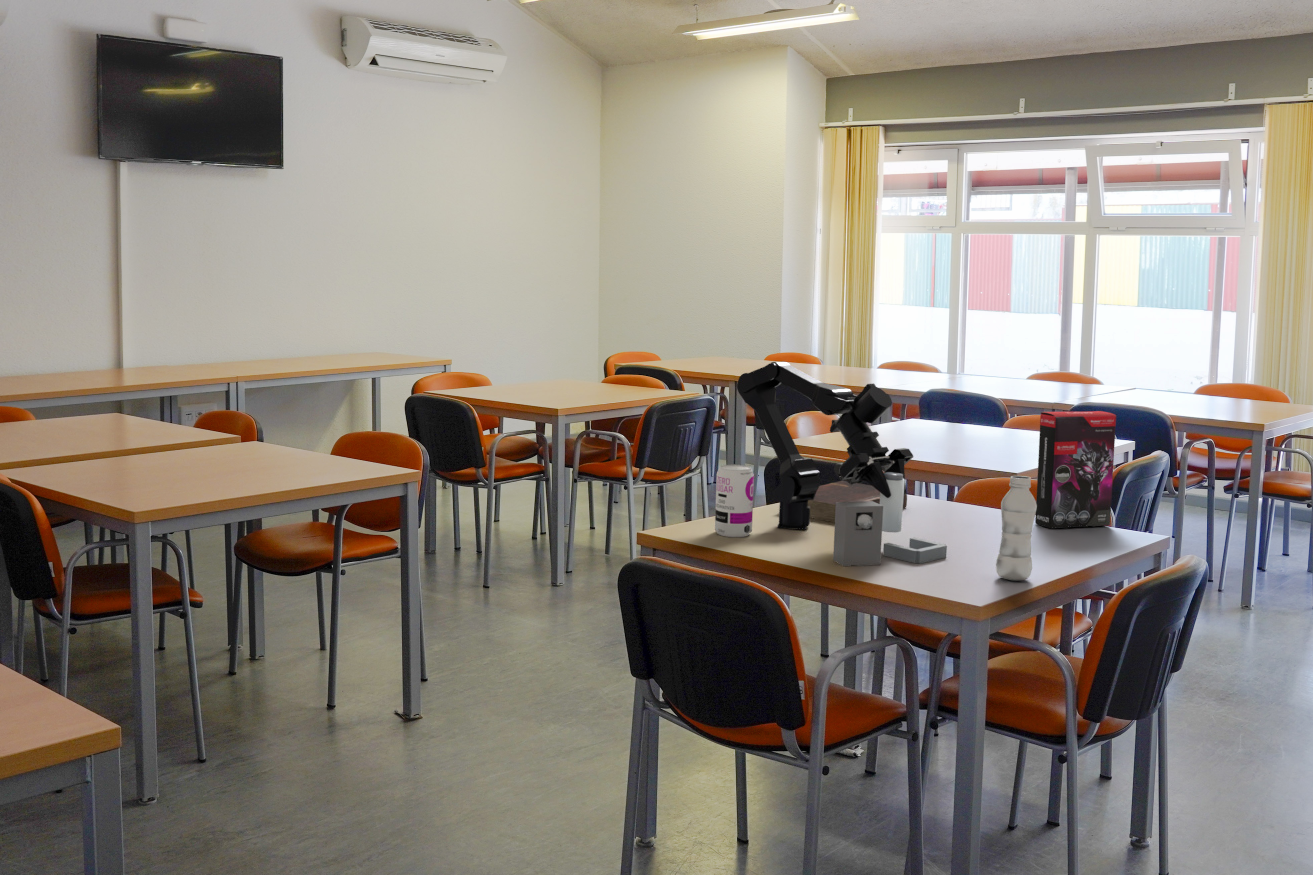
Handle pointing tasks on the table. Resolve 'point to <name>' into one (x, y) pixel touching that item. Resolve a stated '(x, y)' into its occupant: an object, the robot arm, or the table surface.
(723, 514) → the supplement can
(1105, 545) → the table surface
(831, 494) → the hardback book
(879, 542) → the block
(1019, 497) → the plastic bottle
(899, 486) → the cylinder
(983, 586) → the table surface
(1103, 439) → the graphics card box
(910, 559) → the cradle
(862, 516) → the plunger
